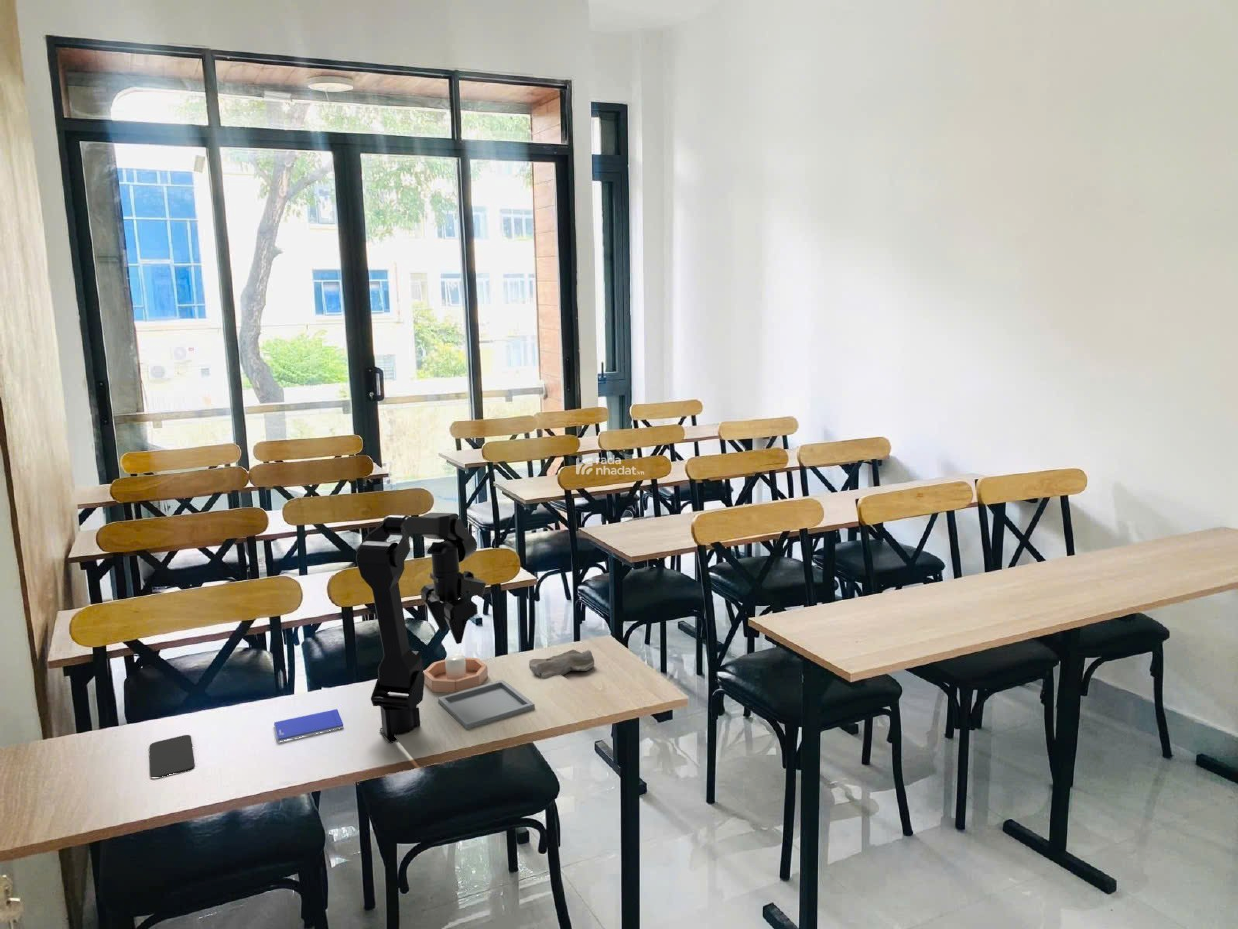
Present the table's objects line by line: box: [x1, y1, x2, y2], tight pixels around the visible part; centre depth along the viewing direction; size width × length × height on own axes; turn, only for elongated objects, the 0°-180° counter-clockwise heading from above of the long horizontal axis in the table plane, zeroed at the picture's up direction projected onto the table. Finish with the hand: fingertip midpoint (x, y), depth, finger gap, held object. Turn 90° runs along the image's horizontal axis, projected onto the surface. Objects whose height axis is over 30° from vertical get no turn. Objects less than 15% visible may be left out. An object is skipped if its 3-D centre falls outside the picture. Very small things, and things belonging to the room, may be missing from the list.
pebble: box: [444, 653, 466, 680], centre depth 194 cm, size 4×4×5 cm
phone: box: [148, 734, 196, 778], centre depth 166 cm, size 7×1×15 cm
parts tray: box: [437, 679, 536, 730], centre depth 181 cm, size 15×15×2 cm
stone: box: [528, 649, 595, 679], centre depth 200 cm, size 15×10×4 cm, turn 116°
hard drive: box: [273, 708, 344, 743], centre depth 176 cm, size 2×8×12 cm
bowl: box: [423, 656, 489, 694], centre depth 194 cm, size 13×13×4 cm
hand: (450, 637), depth 193 cm, fingers open, 9 cm apart
